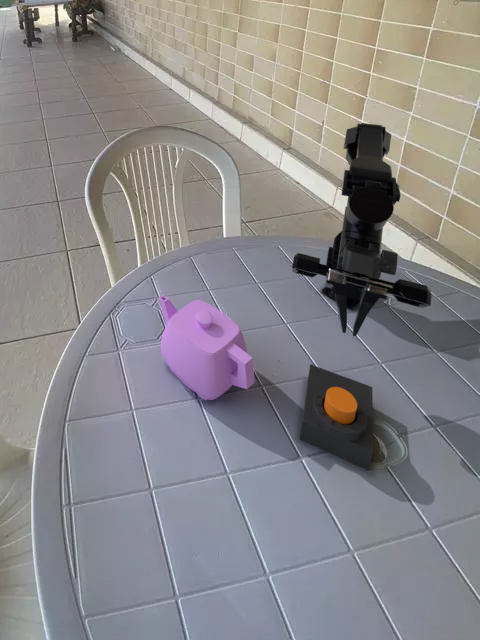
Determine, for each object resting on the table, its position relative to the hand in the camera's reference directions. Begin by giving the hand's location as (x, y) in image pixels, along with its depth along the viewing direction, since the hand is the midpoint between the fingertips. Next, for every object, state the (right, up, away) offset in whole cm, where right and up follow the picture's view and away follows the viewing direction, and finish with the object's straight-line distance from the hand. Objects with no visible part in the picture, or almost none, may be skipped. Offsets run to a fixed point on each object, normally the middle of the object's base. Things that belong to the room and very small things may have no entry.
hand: (349, 334), depth 66 cm
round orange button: (-3, -10, -3) cm, 11 cm away
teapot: (-20, -12, +11) cm, 26 cm away
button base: (-2, -14, +1) cm, 14 cm away
